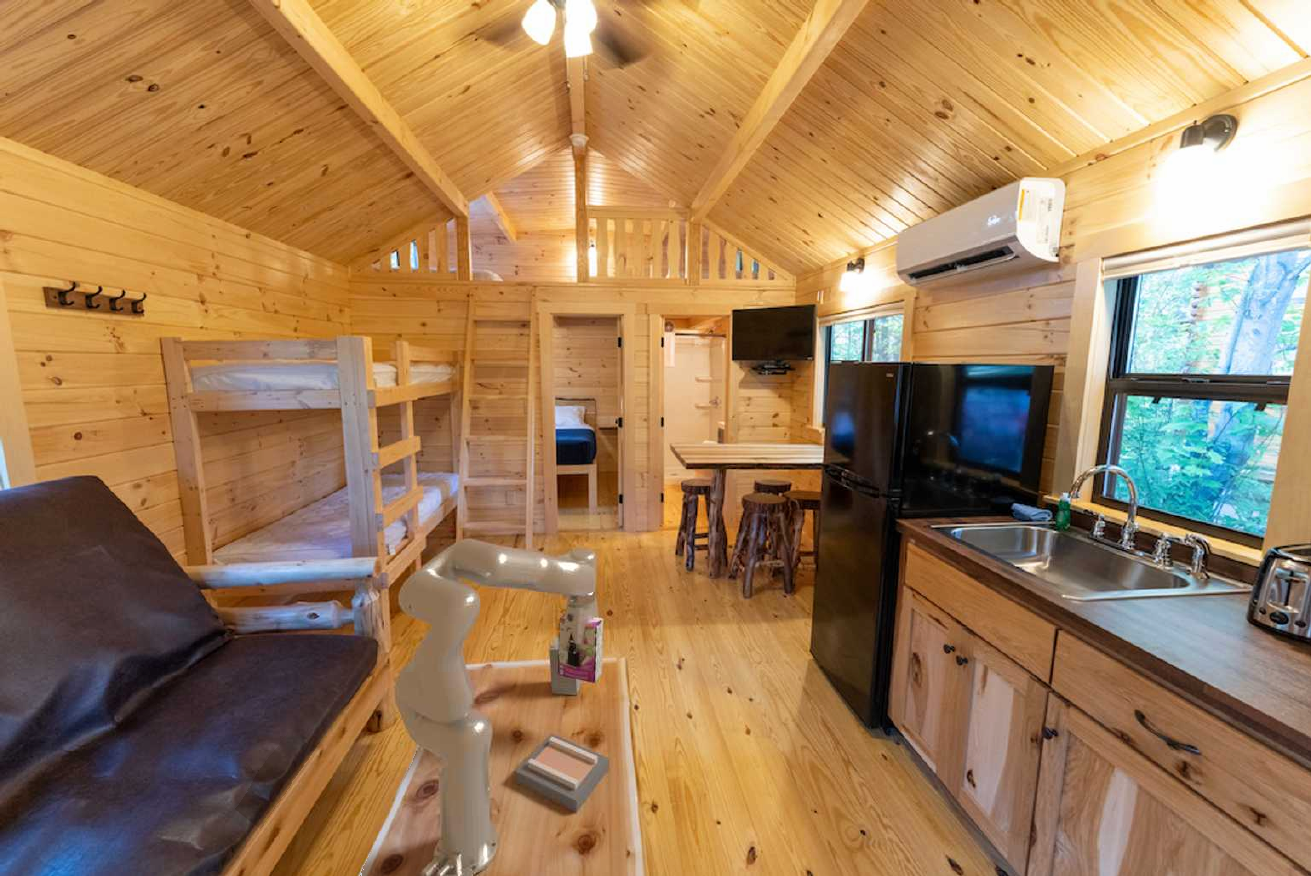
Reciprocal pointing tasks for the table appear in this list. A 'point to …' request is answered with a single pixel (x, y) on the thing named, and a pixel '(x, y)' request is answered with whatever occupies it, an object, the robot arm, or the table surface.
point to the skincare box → (561, 682)
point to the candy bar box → (583, 652)
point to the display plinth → (562, 771)
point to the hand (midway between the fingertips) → (580, 658)
